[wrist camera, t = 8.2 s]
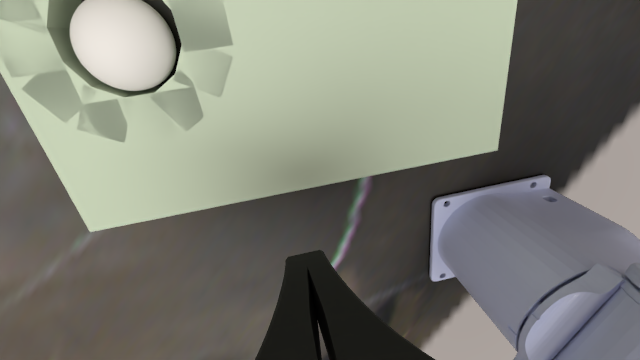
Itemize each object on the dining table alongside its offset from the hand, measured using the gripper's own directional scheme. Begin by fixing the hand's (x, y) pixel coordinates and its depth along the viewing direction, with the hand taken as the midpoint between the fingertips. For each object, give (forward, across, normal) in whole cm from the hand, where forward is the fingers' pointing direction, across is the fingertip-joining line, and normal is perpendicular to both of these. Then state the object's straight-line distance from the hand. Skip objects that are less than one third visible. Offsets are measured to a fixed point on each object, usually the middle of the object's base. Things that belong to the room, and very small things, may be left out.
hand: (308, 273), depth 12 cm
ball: (+7, +6, -9) cm, 13 cm away
